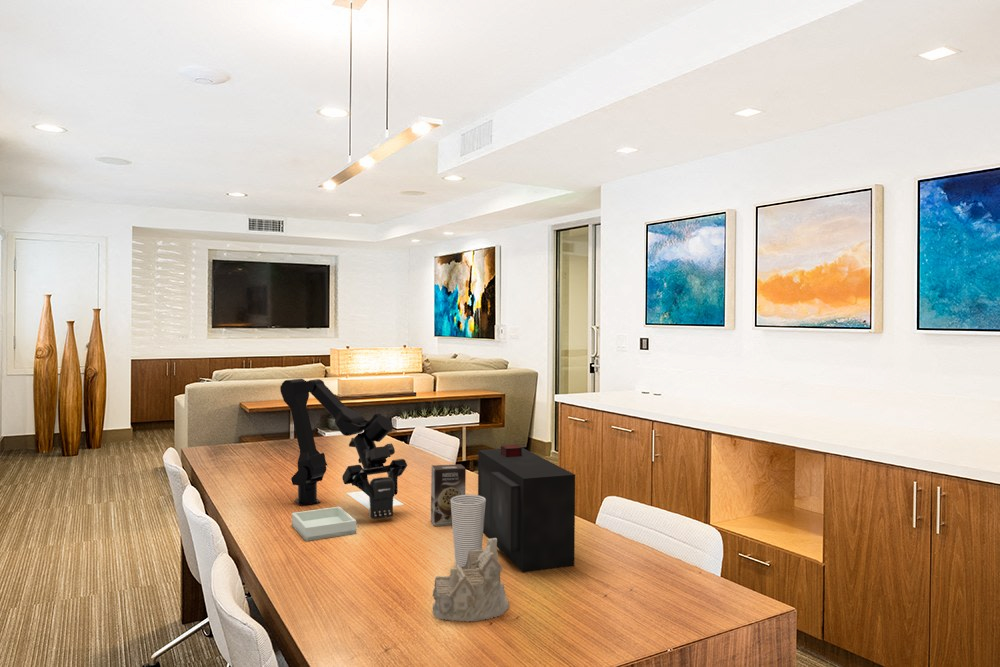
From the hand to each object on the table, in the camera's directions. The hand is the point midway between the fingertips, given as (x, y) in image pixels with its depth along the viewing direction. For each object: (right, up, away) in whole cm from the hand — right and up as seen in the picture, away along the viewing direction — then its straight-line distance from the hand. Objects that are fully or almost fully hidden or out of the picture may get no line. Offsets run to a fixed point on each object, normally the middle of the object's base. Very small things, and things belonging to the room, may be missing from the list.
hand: (384, 495), depth 195 cm
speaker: (+38, -9, -19) cm, 43 cm away
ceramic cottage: (+27, -9, -55) cm, 62 cm away
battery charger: (-1, -7, +1) cm, 7 cm away
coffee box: (+18, -8, +1) cm, 20 cm away
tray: (-16, -8, -7) cm, 19 cm away
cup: (+25, -9, -32) cm, 42 cm away
